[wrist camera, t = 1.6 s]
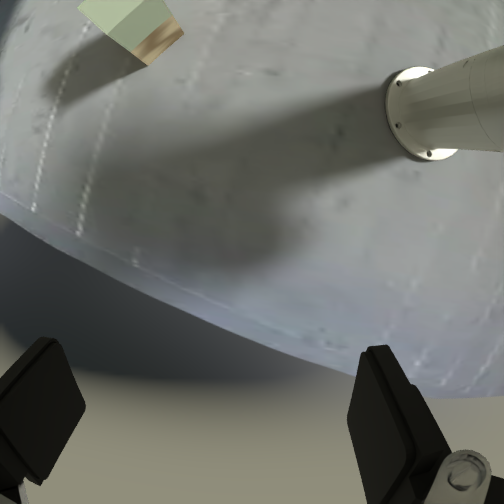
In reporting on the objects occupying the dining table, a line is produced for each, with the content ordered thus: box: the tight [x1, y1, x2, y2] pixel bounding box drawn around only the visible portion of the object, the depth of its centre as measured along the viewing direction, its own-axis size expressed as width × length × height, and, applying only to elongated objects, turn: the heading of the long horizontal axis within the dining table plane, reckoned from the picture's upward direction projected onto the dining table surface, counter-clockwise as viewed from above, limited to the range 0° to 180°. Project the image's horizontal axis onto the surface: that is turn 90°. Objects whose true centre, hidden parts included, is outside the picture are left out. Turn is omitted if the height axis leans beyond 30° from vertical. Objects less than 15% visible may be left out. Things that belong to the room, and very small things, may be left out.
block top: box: [77, 0, 172, 52], centre depth 22 cm, size 6×6×6 cm
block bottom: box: [129, 15, 184, 66], centre depth 27 cm, size 6×6×6 cm
